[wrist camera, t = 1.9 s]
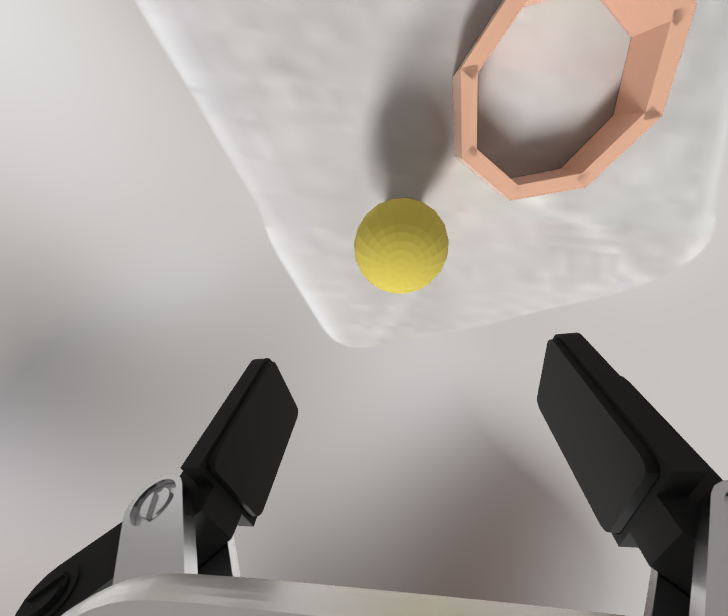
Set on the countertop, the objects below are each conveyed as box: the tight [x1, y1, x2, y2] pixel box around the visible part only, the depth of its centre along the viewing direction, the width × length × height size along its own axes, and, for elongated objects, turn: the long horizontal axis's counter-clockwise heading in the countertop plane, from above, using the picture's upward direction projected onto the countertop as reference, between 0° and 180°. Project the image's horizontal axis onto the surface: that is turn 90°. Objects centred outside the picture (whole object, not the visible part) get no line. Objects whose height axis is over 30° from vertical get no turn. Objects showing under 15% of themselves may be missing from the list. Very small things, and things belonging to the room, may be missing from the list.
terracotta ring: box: [453, 0, 697, 200], centre depth 18 cm, size 12×12×3 cm
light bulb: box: [354, 198, 449, 293], centre depth 21 cm, size 7×7×10 cm
